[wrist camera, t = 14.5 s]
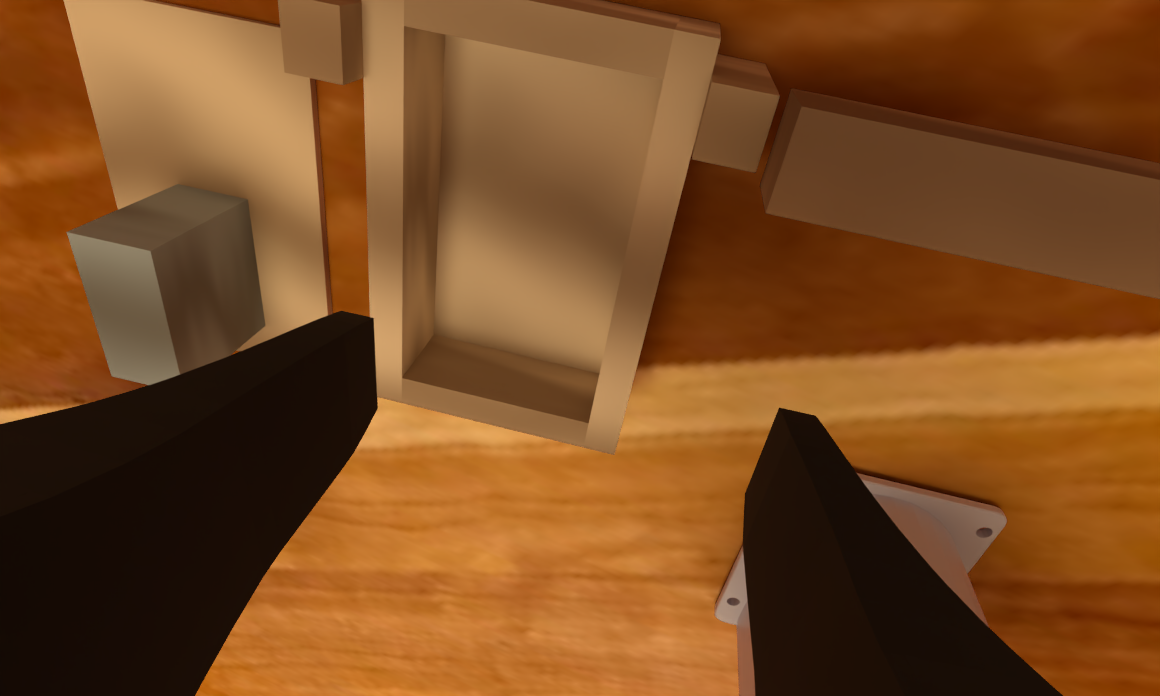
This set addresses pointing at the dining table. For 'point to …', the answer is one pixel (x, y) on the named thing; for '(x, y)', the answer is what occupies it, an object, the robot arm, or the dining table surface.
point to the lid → (198, 187)
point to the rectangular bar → (967, 191)
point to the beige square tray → (525, 189)
